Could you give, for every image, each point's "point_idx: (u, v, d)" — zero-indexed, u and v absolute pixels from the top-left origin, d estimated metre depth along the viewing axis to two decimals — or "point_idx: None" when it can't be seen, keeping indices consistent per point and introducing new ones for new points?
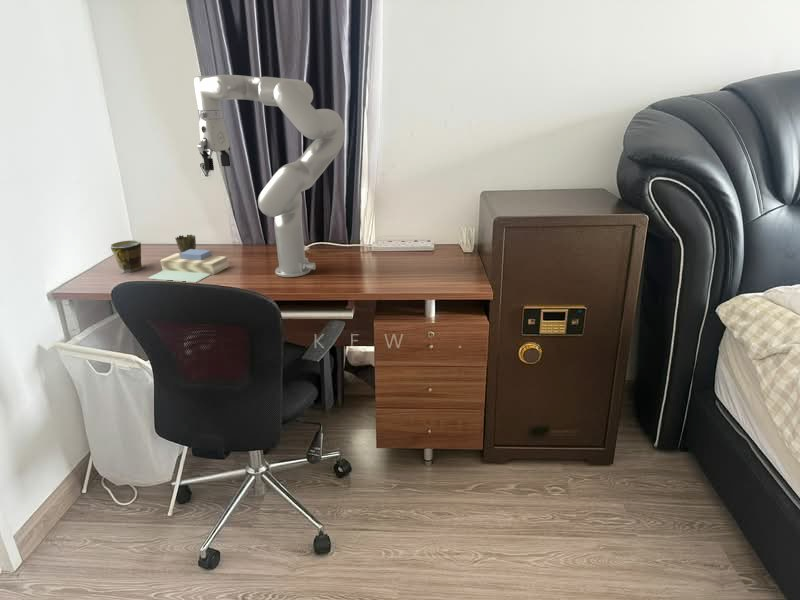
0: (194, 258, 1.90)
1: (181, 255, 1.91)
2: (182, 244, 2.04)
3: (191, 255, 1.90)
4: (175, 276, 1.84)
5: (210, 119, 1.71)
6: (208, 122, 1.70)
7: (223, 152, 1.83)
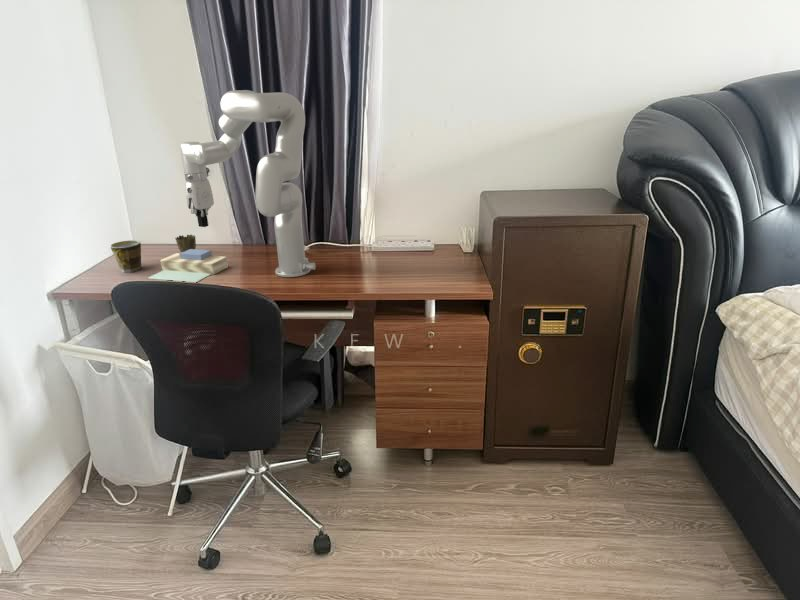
0: (194, 258, 1.90)
1: (181, 255, 1.91)
2: (182, 244, 2.04)
3: (191, 255, 1.90)
4: (175, 276, 1.84)
5: (195, 181, 1.87)
6: (193, 184, 1.86)
7: None
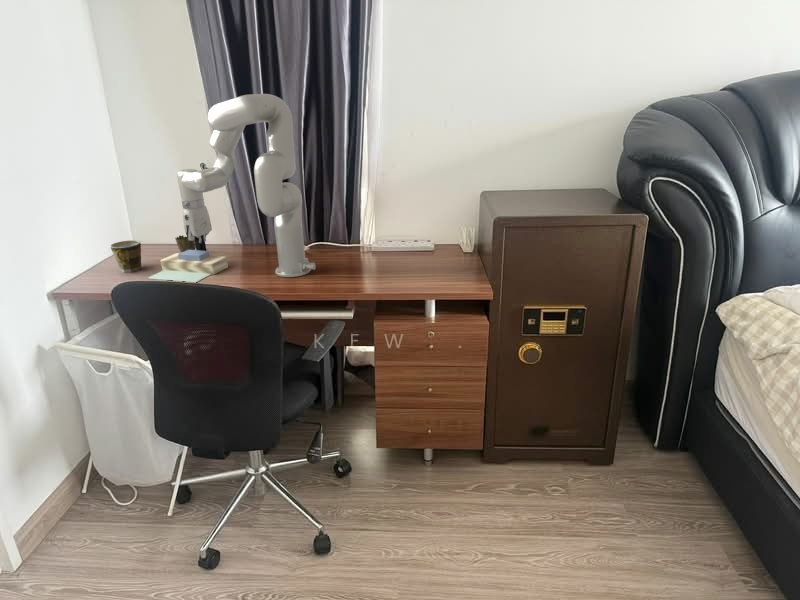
0: (192, 259, 1.89)
1: (179, 256, 1.90)
2: (182, 244, 2.04)
3: (189, 256, 1.89)
4: (175, 276, 1.84)
5: (192, 209, 1.86)
6: (190, 211, 1.86)
7: None
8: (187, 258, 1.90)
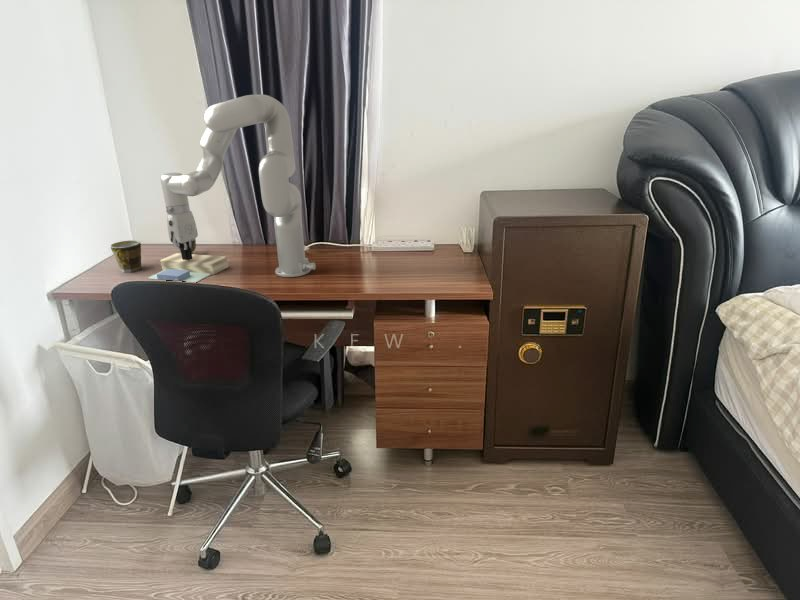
0: None
1: None
2: None
3: None
4: None
5: (177, 214, 1.79)
6: (175, 217, 1.78)
7: None
8: None
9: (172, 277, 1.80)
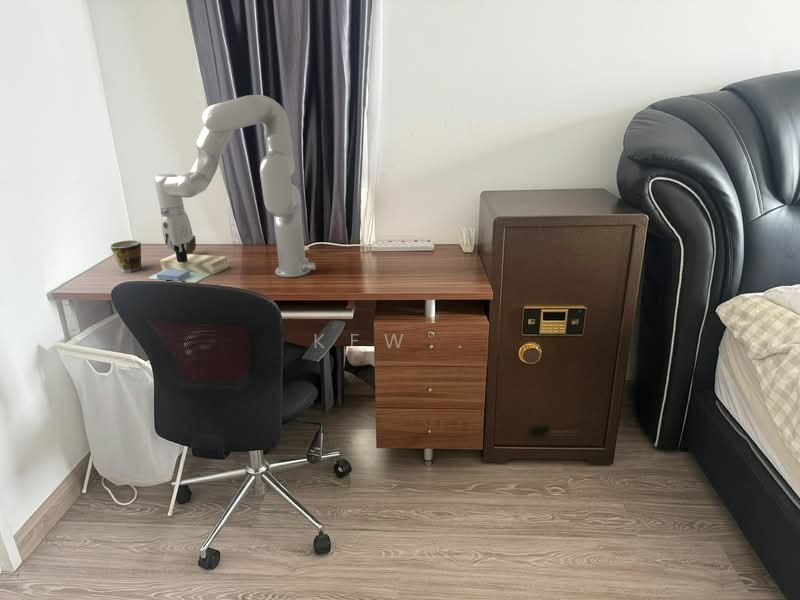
0: None
1: None
2: None
3: None
4: None
5: (172, 216, 1.76)
6: (169, 219, 1.76)
7: None
8: None
9: (172, 277, 1.80)
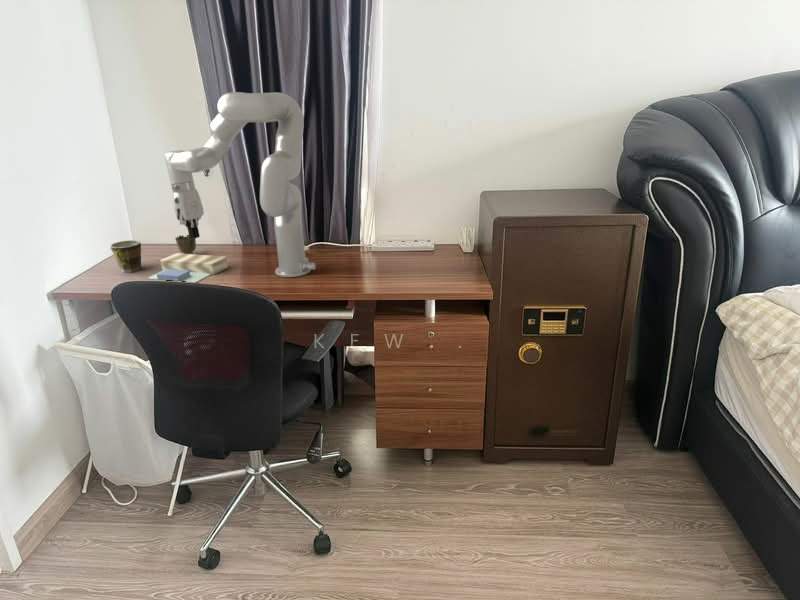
0: None
1: None
2: (182, 244, 2.04)
3: None
4: None
5: (182, 191, 1.80)
6: (180, 194, 1.80)
7: None
8: None
9: (172, 277, 1.80)
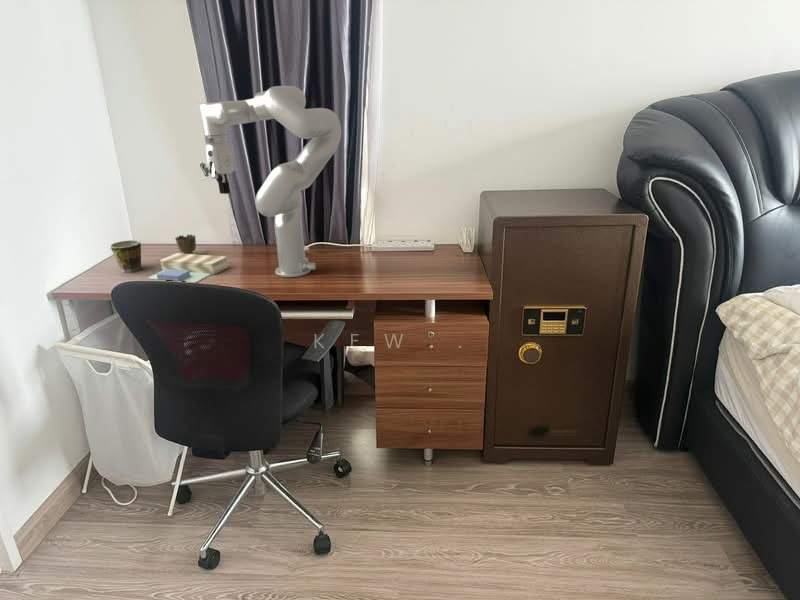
0: None
1: None
2: (182, 244, 2.04)
3: None
4: None
5: (216, 144, 1.78)
6: (214, 146, 1.77)
7: None
8: None
9: (172, 277, 1.80)
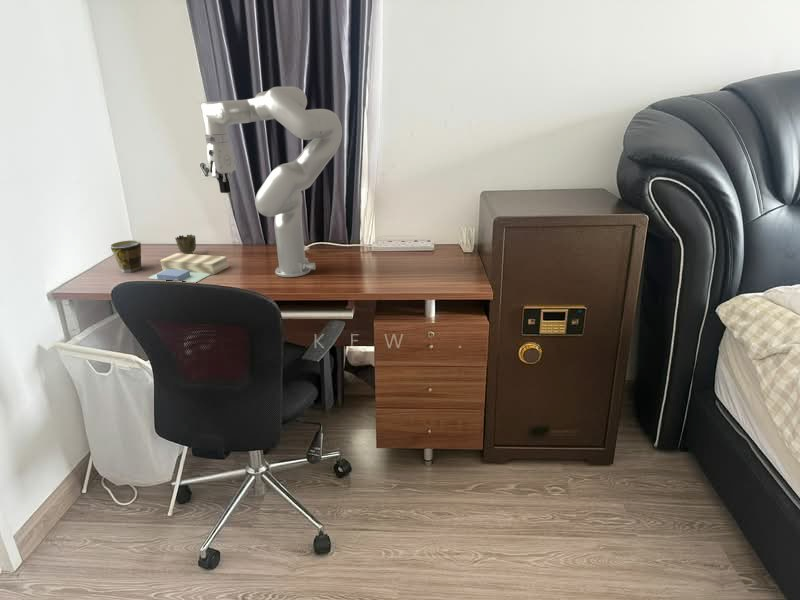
0: None
1: None
2: (182, 244, 2.04)
3: None
4: None
5: (217, 143, 1.78)
6: (215, 146, 1.77)
7: None
8: None
9: (172, 277, 1.80)
